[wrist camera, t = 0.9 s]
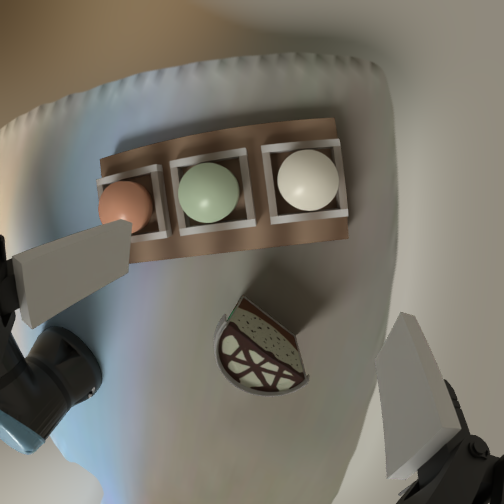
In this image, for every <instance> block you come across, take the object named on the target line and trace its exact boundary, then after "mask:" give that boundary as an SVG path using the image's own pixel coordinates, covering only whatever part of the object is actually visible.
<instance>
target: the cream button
mask: <svg viewBox="0 0 504 504" xmlns="http://www.w3.org/2000/svg"><path fill="white" fill-rule="evenodd" d="M277 183H278V188H279V191H280V193H281V195H282V196H283V198H284V199H285V200H286V201H287V202H288V203H289V204H291V205H292V206H294V207H296V208H298V209H301V210H306V211H313V210H318V209H321V208H323V207H324V206H326V205H327V204H329V203H330V202H331V201H332V200H333V198H334V197H335V195H336V193H337V190H338V186H339V177H338V172H337V169H336V167H335V165H334V164H333V162H332V161H331V160H330V159H329V158H328V157H327V156H326V155H324V154H322V153H321V152H318V151H315V150H300V151H297V152H295V153H293V154H291V155H290V156H289V157H287V158H286V159H285V160H284V162H283V163H282V165H281V167H280V169H279V172H278V177H277Z"/></svg>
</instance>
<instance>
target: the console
mask: <svg viewBox="0 0 504 504" xmlns="http://www.w3.org/2000/svg"><path fill="white" fill-rule="evenodd" d="M300 150H315V151H318V152H321V153H322V154H324V155H326V156H327V157H328V158H329V159H330V160H331V161H332V162H333V164H334V165H335V167H336V169H337V172H338V177H339V186H338V190H337V193H336V195H335V197H334V198H333V200H332V201H331V202H330V203H329V204H327V205H326V206H324V207H323V208H321V209H318V210H313V211H306V210H301V209H298V208H296V207H294V206H292V205H291V204H289V203H288V202H287V201H286V200H285V199H284V198H283V196H282V195H281V193H280V191H279V188H278V183H277V177H278V172H279V169H280V167H281V165H282V163H283V162H284V160H285V159H286V158H287V157H289V156H290V155H291V154H293V153H295V152H297V151H300ZM201 163H215V164H218V165H220V166H223V167H225V168H227V169H228V170H230V171H231V172H232V173H233V174H234V176H235V177H236V179H237V181H238V184H239V188H240V196H239V200H238V203H237V205H236V207H235V209H234V210H233V211H232V212H231V213H230V214H229V215H227V216H226V217H224V218H223V219H221V220H219V221H216V222H212V223H203V222H198V221H196V220H194V219H192V218H190V217H189V216H188V215H187V214H186V213H185V212H184V210H183V209H182V207H181V205H180V202H179V198H178V188H179V184H180V181H181V179H182V177H183V176H184V174H185V173H186V172H187V171H188V170H189V169H191V168H192V167H194V166H195V165H198V164H201ZM100 166H101V175H102V178H100V179H97V180H96V181H97V190H98V197H99V200H100V197H101V195H102V193H103V191H104V190H105V189H106V188H107V187H108V186H109V185H110V184H112V183H114V182H118V181H133V182H137V183H140V184H141V185H143V186H144V187H145V188H146V189H147V190H148V192H149V194H150V196H151V199H152V205H153V210H152V215H151V218H150V220H149V222H148V223H147V225H146V226H145V227H144V228H143V229H141V230H139V231H137V232H134V233H131V243H130V255H129V264H131V263H139V262H148V261H157V260H165V259H174V258H182V257H191V256H200V255H208V254H217V253H226V252H235V251H243V250H252V249H261V248H270V247H279V246H287V245H296V244H305V243H314V242H323V241H332V240H341V239H349V237H348V222H347V216H348V205H347V194H346V185H345V176H344V168H343V160H342V153H341V146H340V139H338V136H337V130H336V124H335V118H319V119H304V120H292V121H282V122H272V123H264V124H256V125H248V126H241V127H235V128H228V129H222V130H216V131H211V132H205V133H200V134H195V135H190V136H185V137H181V138H176V139H172V140H167V141H163V142H159V143H155V144H151V145H147V146H143V147H139V148H136V149H132V150H129V151H125V152H122V153H118V154H115V155H112V156H108V157H105V158H102V159H100Z"/></svg>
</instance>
